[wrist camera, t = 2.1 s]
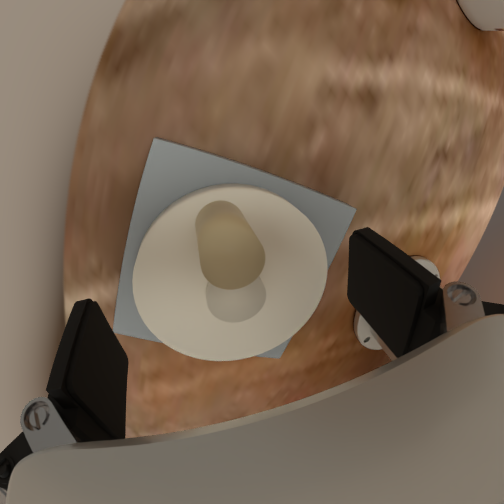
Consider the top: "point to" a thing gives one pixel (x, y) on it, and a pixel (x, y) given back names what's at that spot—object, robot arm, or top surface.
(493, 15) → the milk bottle
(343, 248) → the top surface
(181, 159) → the base board
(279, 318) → the dial
